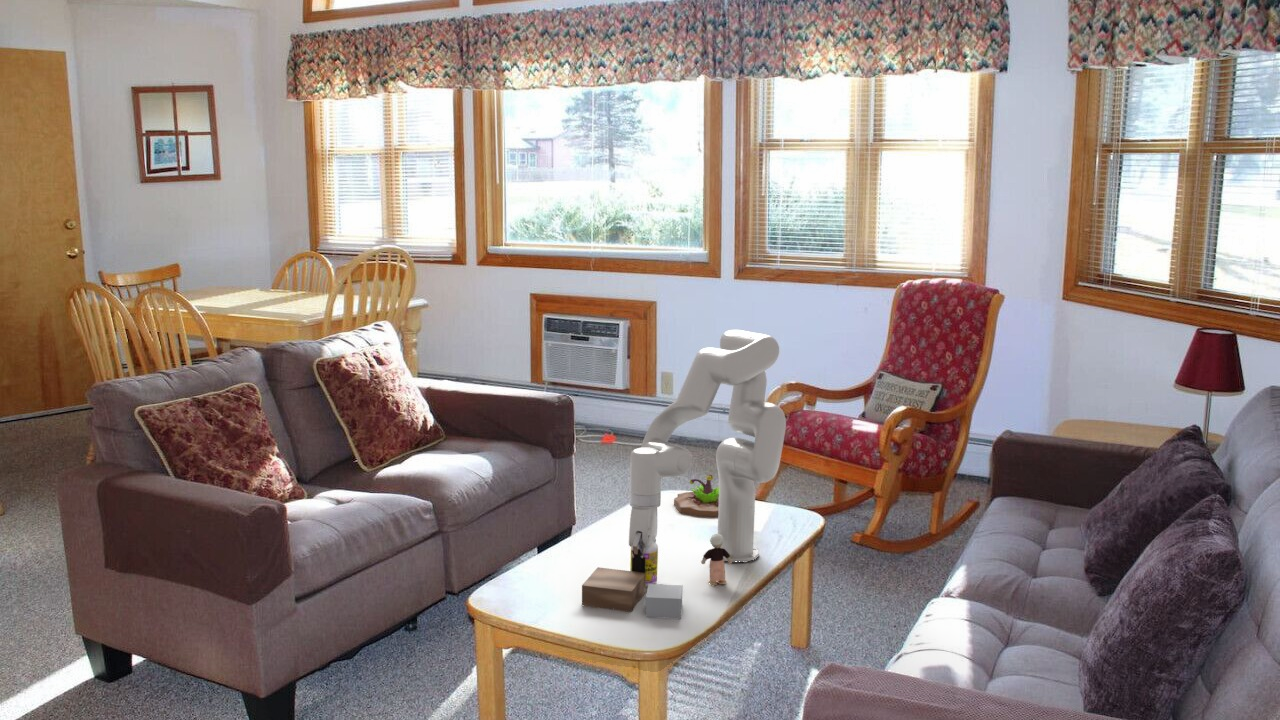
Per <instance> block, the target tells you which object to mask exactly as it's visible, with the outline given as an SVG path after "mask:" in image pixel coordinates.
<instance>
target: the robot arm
mask: <svg viewBox="0 0 1280 720" xmlns="http://www.w3.org/2000/svg"><path fill="white" fill-rule="evenodd" d="M779 355H780V346H779V343H778V340H777V339H775V338H774V337H773V336H771V335H769V334H765V333H759V332H752V331H749V330H744V329H743V330H742V329H728V330H726V331H724V332H723V334H722V335H721V336H720V341H719V348H718V347H704V348H701V349H700V350H699V351H698V352H697V353H696V355H695V357H694V359H693V362H692V364H691V366H690V368H689V371H688V373H687V375H686V377H685V380H684V382H683V385H682V387H681V389H680V391H679V394H677V397H676V399H675V400H674V401H673V402H672V403H670V404H669V405H668V406H667V407H665V408H664V409H663V410H662V411H661V412H660V413H659V414H657V416H656V417H655V418H654V419H653V420H652V421H651V423H650V425H649V426H648V429H647V432H646V433H645V436H644V438H643V441H642V443H641V447H638V448H634V449H633V450H631V452H630V457H629V458H630V461H629V462H630V463H629V465H630V466H629V506H630V507H631V510H630V518H629V528H628V529H629V530H628V531H629V532H628V546H629V547H630V548H631V547H633V550H632V571H634V572H642V573H645V557H644V555H645V549H646V548H648V547H649V546H650V545H651V543H652V538H653V534H654V540H653V541H654V542H655V543H656V544H657V539H656V538H657V535H658V508H659V507H660V506H661V498H662V497H661V496H662V492H661V489H662V486H661V485H662V478H668V477H670V478H671V477H672V478H673V477H681V476H684V475H685V474H687V473H688V472H690V470H691V469H692V467H693V463H694V459H693V455H692V453H691V452H690V451H689V450H688V449H687V448H686V447H683V446H681V445H678V444H674V443H672V442H669V439H670V438H671V436H672V434H673V433H674V432H675V430H676V429H678V427H680V426H681V425H683V424H685V423H687V422H690V421H694V420H695V419H699V418H701V417H704V416H705V415H708V413H710V412H709V411H710V409H711V407H712V405H713V402H714V400H715V397H716V395H717V393H718V390H719V389H720V385H721V384H722V385H727V386H731V387H732V393H731V398H730V404H729V411H728V419H727V420H728V425H729V428H730V429H732V430H733V431H734V432H736V433H739V434H743V435H745V436H749V437H753V438H754V441H753V440H748V439H745V438H741V437H740V438H739V437H729V438H726V439H723V440H722V441H721V443H719V445H718V447H717V449H716V453H715V462H716V467H717V468H716V469H717V473H718V474H717V475H718V487H719V506H718V517H717V534H721V535H722V537H723V540H724V542H723V544H722V546H721V547H720V548H723V549H725V550H726V551H727V552H728V553H729V555H730V557H731V560H732V562H735V561H737V562H739V561H740V562H743V561H750V560H753V559H755V560H757V559H758V558H759V557H758V556H760V551H759V550H758V548H757V547H755V546H754V537H755V536H754V535H755V512H756V511H755V509H756V507H755V506H756V505H755V504H756V488H755V487H756V486H755V483H754V482H756V483H763V484H764V483H768V482H770V481H772V480H773V479H774V478H775V476H776V475H777V473H778V470H779V467H780V462H781V459H782V453H783V452H782V451H783V446H784V441H785V434H786V429H787V419H786V416H785V412H784V411H783V409H782V408H781V407H780V406H778V405H777V404H775V403H773V402H768V401H766V399H765V398H766V390H767V382H768V381H767V373H766V371H767V370H768V369H770V368H771V367H773V365H774V364H775V363H776V361H777V360H778V358H779ZM639 544H644V545H639ZM639 548H640V549H642V553H641V550H640V549H639ZM711 549H714V547H713V546H712V548H711ZM757 557H758V558H757ZM756 558H757V559H756ZM723 559H724V562H725V561H728V560H727V559H726V558H725V557H724V556H723ZM753 561H754V560H753ZM750 562H751V561H750Z"/></svg>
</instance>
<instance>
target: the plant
mask: <svg viewBox="0 0 1280 720" xmlns="http://www.w3.org/2000/svg"><path fill="white" fill-rule="evenodd" d="M712 480H714V475H712V474H711V473H708V474H707V475H706V483H705V482H703V481H702V480H701V479H698V478H692V479H690V480H689V484H690V485H693V484H694V483H695V482H698V483H699V484H700V486H695V489H694V488H690V490H691V491H686V492H682V493H677V497H675V498H674V499H673V505H674V507H675V508H676V510H677V511H678V513H679V514H681V515H682V514H683V515H688V516H689V515H690V516H693V517H698V518H699V517H700V518H718V506H719V486H716V487H715V488H714V489H713V487H712Z"/></svg>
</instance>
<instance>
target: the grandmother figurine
mask: <svg viewBox="0 0 1280 720" xmlns="http://www.w3.org/2000/svg"><path fill="white" fill-rule="evenodd" d="M709 542H710V544H711V546H712V548H713V547H714V549H712V548H710V549H708V550H707V551H705V553H704V554H703V556H702V559H701V561H700V562H701V564H702V565H705V564H706V561H707V560H709V559H710V560H709V580H708V584H709V583H710V584H711V586H712V585H716V586H718V584H719V583H720V584H725V583H726V584H727V580H726V566H725V561H724V559H723V556H724V557H725V558H726V559H727V560H728V562H727V563H728V564H733V563H732V560H731V557H730V555H729V553H728V552H727V551H726V550H725V549H723V548H720V547H721V546H722V544H723V542H724V540H723V537H722V535H721V534H718V533H714V534H713V535H712V536H710V538H709ZM718 582H719V583H718ZM710 584H709V585H710ZM720 584H719V585H720ZM726 584H725V585H726Z"/></svg>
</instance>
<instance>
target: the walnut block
mask: <svg viewBox="0 0 1280 720" xmlns="http://www.w3.org/2000/svg"><path fill="white" fill-rule="evenodd" d="M645 593H646V587H645V573H642V572H634V571H630V570H623V569H615V568H607V567H605V568H604V567H596V568H595V570H594V571H593V572H592V573H591V574H590V576H589V577H588V578H587V579H586V580H585V581H584V583H582V585H581V606H582V605H584V606H583V607H588V606H590V607H591V608H598V609H606V610H612V611H620V612H630V613H632V612H633V610H634V609H635V607H636V606H637V605H638V603H639V602H640V601H641V600H642V598H643V596H644V595H646V594H645ZM590 607H589V608H590Z"/></svg>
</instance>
